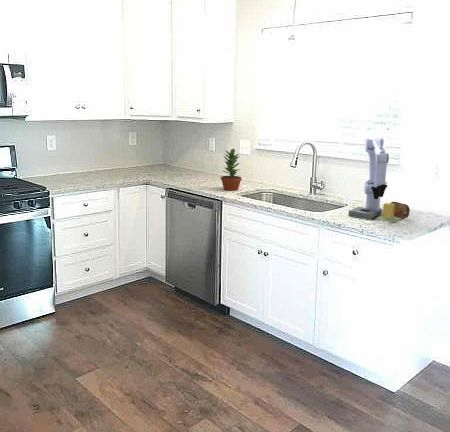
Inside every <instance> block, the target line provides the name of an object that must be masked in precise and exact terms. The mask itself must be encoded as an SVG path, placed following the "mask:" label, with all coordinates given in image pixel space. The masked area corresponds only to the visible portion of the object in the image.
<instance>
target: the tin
mask: <svg viewBox="0 0 450 432" xmlns="http://www.w3.org/2000/svg"><path fill="white" fill-rule="evenodd" d="M389 203H390V204H395V208H394V217H399V218H401V219H400V220H402V219H407V218H408V217H410V213H411V209H410V207H409V205H408V204H406V203H402V202H399V201H391V202H389Z"/></svg>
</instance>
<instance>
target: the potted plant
mask: <svg viewBox="0 0 450 432" xmlns="http://www.w3.org/2000/svg"><path fill="white" fill-rule="evenodd" d="M224 151H225V152H226V153H224V155H223V158H224V159H225V160H224V162H225V164H226V166H227V167H224V169H225V170H226V171H225V170H222V172H224V173H226V174H229V175H221V176H220V180H221V183H222V187H223V190H224V191H227V192H235V191H239V189H240V184H241V182H242V176H240V175H239V176H238V175H236V174H237V173H238V171H240V170H241V169H240V168H239V169H236V167H237V166H238V165H239V164H241V163H239V162H238V160H239V159H238V158H240V157H241V155H240V153H236V154H235V152H236V149H235V148H234V147H233V148H232V149H230V151H228V150H225V149H224Z"/></svg>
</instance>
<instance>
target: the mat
mask: <svg viewBox="0 0 450 432" xmlns="http://www.w3.org/2000/svg"><path fill="white" fill-rule="evenodd" d="M382 215H383V214H381V216H379V217H377V218H375V220H378V221H382V222H383V221H385V222H389V223H398V221H400V220H402V219H401V218H399V217H395V216H394V218H393V219H385V218H382Z"/></svg>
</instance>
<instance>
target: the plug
mask: <svg viewBox="0 0 450 432" xmlns="http://www.w3.org/2000/svg"><path fill="white" fill-rule="evenodd" d="M390 203H391V202H389V203H388V202H385V203H383V205H382V206H383V207H382V214H381V215H382V218H385V219H393V218H394V217H395V216H394V208H395V204H390Z"/></svg>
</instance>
